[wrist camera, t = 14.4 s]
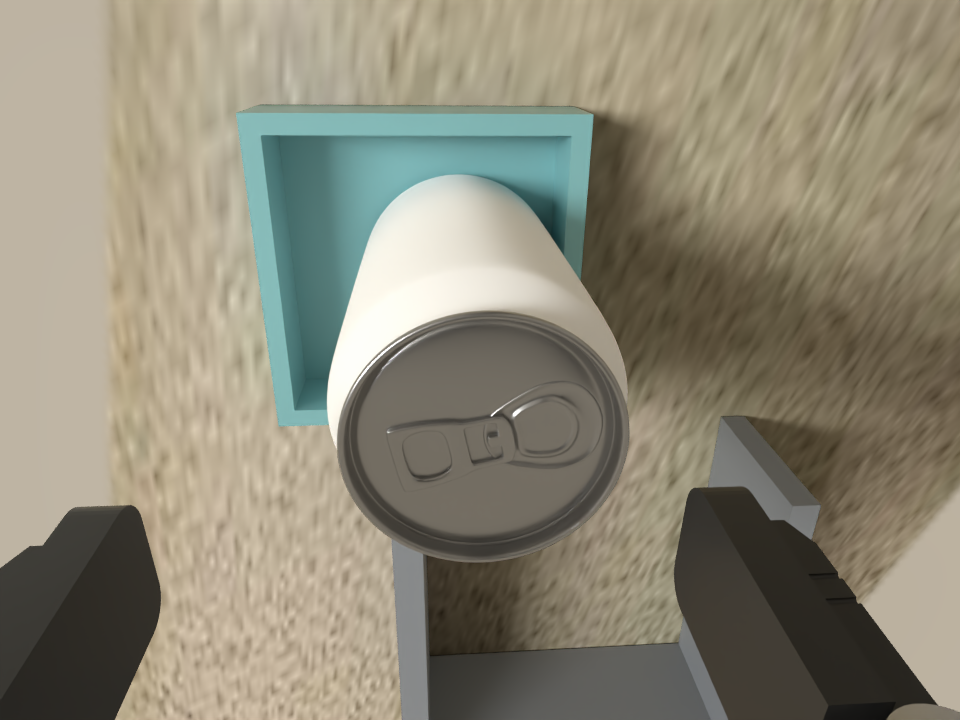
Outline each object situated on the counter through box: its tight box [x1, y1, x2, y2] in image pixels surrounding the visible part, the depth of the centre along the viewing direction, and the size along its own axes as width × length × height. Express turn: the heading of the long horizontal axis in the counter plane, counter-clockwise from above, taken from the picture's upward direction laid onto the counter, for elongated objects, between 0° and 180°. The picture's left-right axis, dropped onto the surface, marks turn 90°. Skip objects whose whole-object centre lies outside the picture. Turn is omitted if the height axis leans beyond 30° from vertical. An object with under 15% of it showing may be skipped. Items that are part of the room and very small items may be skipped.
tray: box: [236, 105, 594, 426], centre depth 23 cm, size 10×10×3 cm
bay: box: [392, 416, 821, 720], centre depth 28 cm, size 14×14×6 cm
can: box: [327, 174, 629, 563], centre depth 18 cm, size 6×6×12 cm
